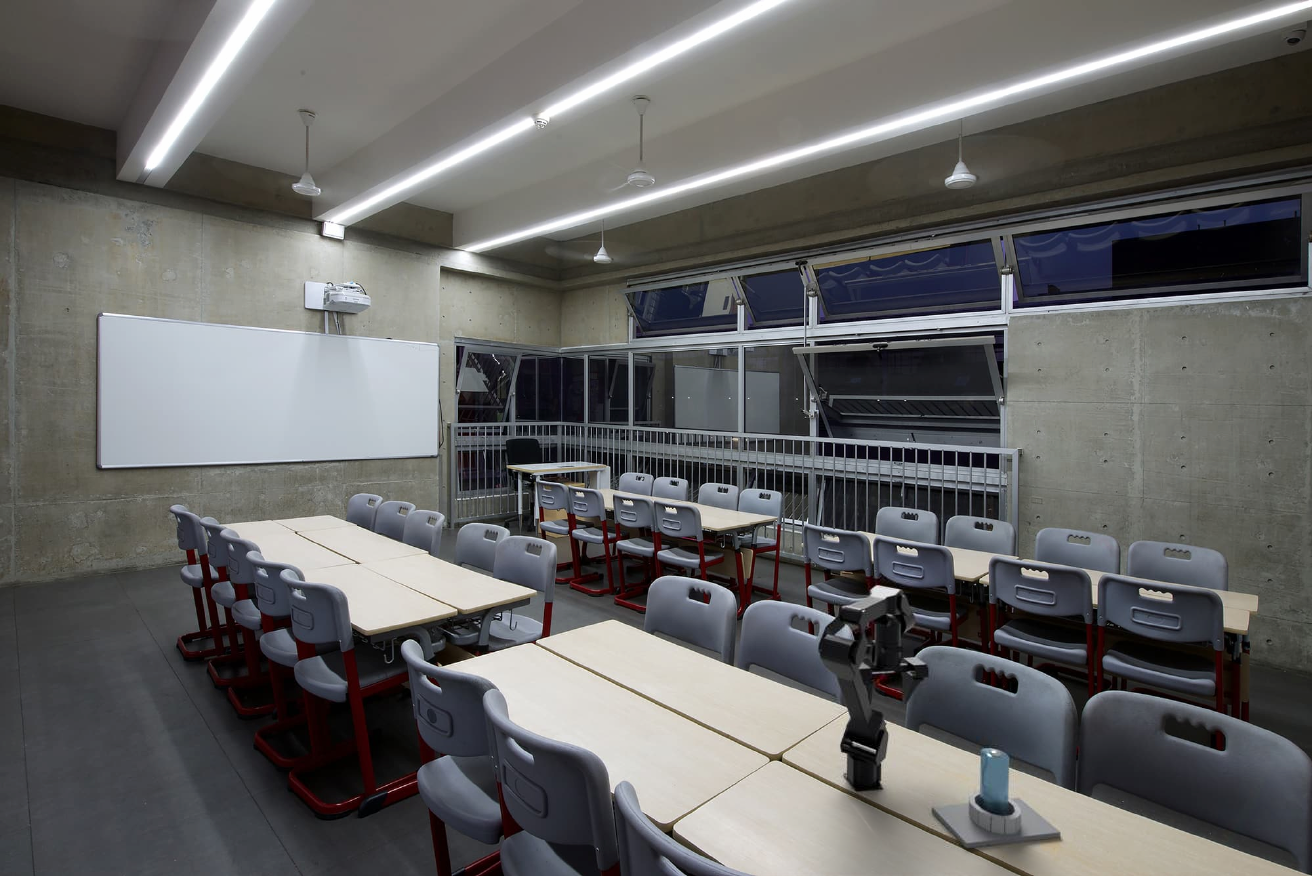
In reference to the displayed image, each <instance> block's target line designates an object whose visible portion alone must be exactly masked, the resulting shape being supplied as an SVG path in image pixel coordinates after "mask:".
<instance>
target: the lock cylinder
mask: <svg viewBox="0 0 1312 876" xmlns="http://www.w3.org/2000/svg"><path fill="white" fill-rule="evenodd" d="M979 765H980V768H979V769H980V771H979V772H980V773H979V780H980V781H979V791H980V808H981V809H983V810H985V811H987V812H989V813H991V814H995V815H1000V816H1008V798H1009V786H1010V785H1009V783H1010V779H1009V778H1010V756H1009V755H1008V754H1007V753H1005V752H1004V751H1002V750H1000V749H997V748H993V747H992V748H991V747H987V748H986V747H985V748H982V749H980V764H979Z"/></svg>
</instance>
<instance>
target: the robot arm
mask: <svg viewBox="0 0 1312 876" xmlns="http://www.w3.org/2000/svg"><path fill="white" fill-rule="evenodd" d="M916 621H917V620H916V617H915V613H914V612H913V611H912V610H911V607H910V604H909V602H908V598H907V595H905V594H904V591H903V589H899V588H894V587H889V586H883V585H880V584H879V585H876V584H875V586H874V587H872V588H871V589H870V590H869V595H868V596H867V597H863V599H860V600H858V601H856V602H854V603H851V604H849V605H843V606H841V608H840V610H839V613H838V616H836V617H835V618H834V619H833V620H832V621H830V622H829V623H827V625H826V626H825V628H824V630H823V633H822V635H821V637H820V641H819V643H818V646H817V647H818V651H817V652H818V654H819V658H820V660H821V662H822V663H823V665H824V667H825V668H826V669H828V671H829V672H831V673H832V674H833V675H834V676H835V677H836V680H837V683H838V686H839V689H840V691H841V695H842V697H843V701H844V703H845V707H846V709H847V712H848V715H849V718H848V721H847V723H846V725H845V730H844V732H843V735H842V738H841V741H840V745H839V748H840V752H841V753H842V754H846V772H843V773H842V775H843V777H844V778H845V780H846V781H847V782H848V783H849V785H850V786H851V787H852V788H853V790H854V791H856V792H857V793H858V792H866V791H867V792H868V791H877V790H883V789H884V786H883V784H882V783H881V781H882V762H883V761H884V760H886V757H887V751H888V743H889V738H890V737H889V732H888V730H887V727H886V726H887V723H886V720H885V717H884V714H883V712H882V711H880V710H879V711H878V710H876V709H873V708H872V707H871V705H872V703H873V702H872V700H873V691H874V690H873V688H874V682H873V681H872V679H873V675H880V674H895V673H897V674H898V673H900V674H901V677H902V689H901V690H902V691H901V692H902V693H901V697H902V700H901V701H902V703H903V704H904V705H908V703H909V700H910V699H911V697H912V696H913V694H914V692H915V691H916V689H917V687H918V686H920V683H921V682H924V681H925V678H929V677H930V667H929V666H928V664H927V663H925V662H924V661H922V660H921V659H919V658H918V657H915V656H914V657H902V659H901V653H904V647H902V646H901V635H903V634H904V633H906V632H907V631H909V630H911V629H912V628H913V627H914V626H915V624H916ZM871 622H872V624H873V625H874V640H873V639H872V640H871V642H870V643H871V644H869V643H868V639H867V635H866V628H867V625H868V623H871ZM846 626H851V627H856V628H858V632H859V634H860V635H859V639H858V640H854V639H850V638H847V637H843V636H838V635H836V634H837V633H839V632H840V631H841V630H842V629H844V628H845V627H846ZM864 660H869V662H870V663H873V665H867V664H866V663H864Z"/></svg>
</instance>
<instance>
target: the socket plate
mask: <svg viewBox="0 0 1312 876" xmlns="http://www.w3.org/2000/svg"><path fill="white" fill-rule="evenodd" d="M931 813H932V814H934V816H936V818H937V819H938V820H939V821H940V822H941V823H942V824H943V825H944V826H945V827H946V828H947V829H948V830H949V832H951V834H952V835H953V836H954V837H955V836H956V837H955V838H956V839H957V840H958V841H959V842H960V843H961V844H962V846H964V848H965V849H972V848H973V849H974V848H981V847H980V846H982V847H987V845H990V846H996V845H1005V844H1007V845H1008V844H1015V843H1022V842H1030V841H1031V842H1033V841H1039V840H1047V839H1048V840H1049V839H1055V838H1061V831H1060V830H1059V829H1057V828H1056V827H1055V826H1054V825H1053V824H1051V823H1050V822H1049V821H1048V820H1047V819H1045V817H1042V815H1040V814H1039V813H1038V812H1037V811H1035V810H1034V808H1032V807H1031V806H1029V805H1028V804H1027V803H1026V802H1025V801H1024V800H1022V799H1021V798H1020V797H1012V798H1010V797H1008V816H1000V815H995V814H991V813H989V812H987V811H985V810H983V809H981V808H980V790H975V791H973V792H972V793H971V794H970V795H968V802H966V803H955V804H946V805H937V806H931Z"/></svg>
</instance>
